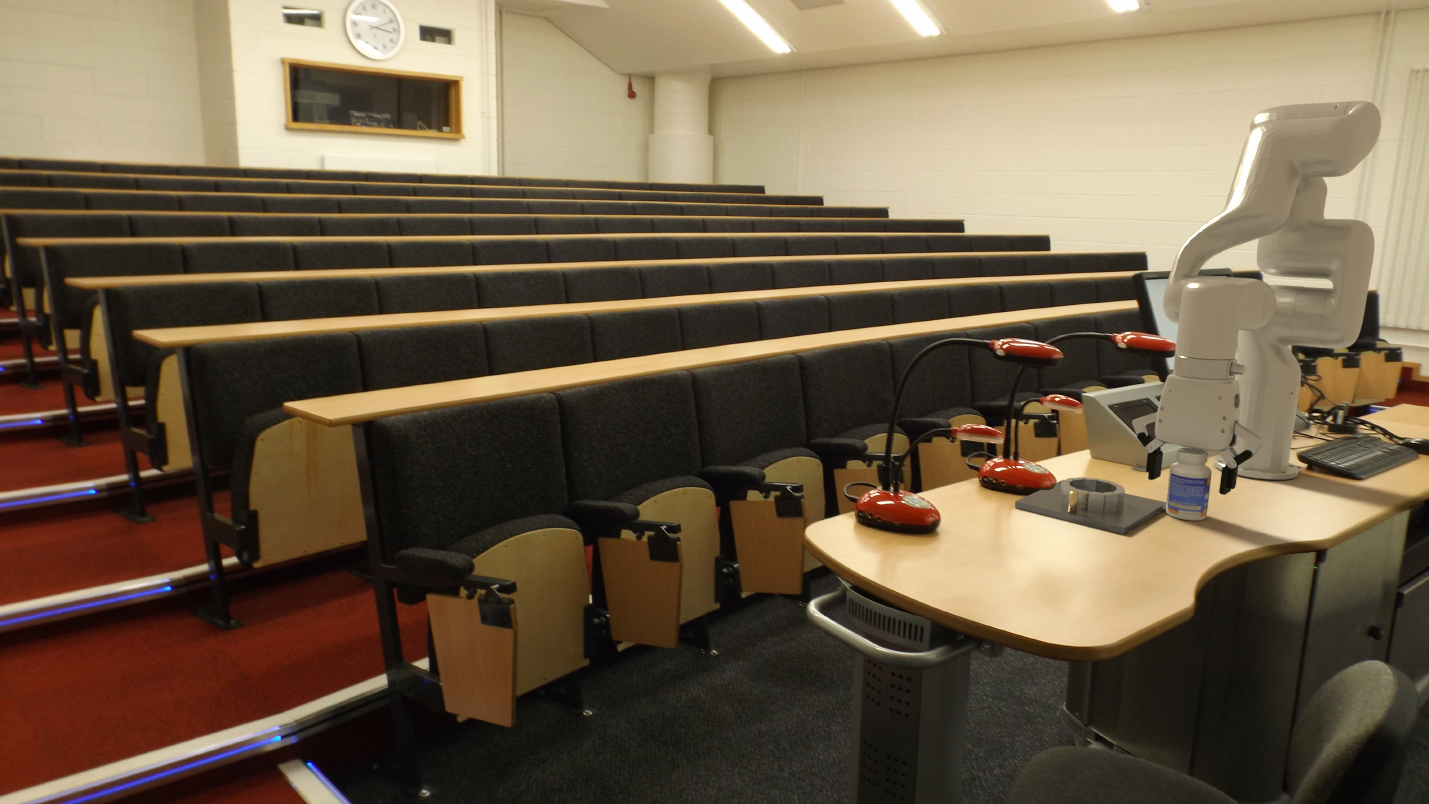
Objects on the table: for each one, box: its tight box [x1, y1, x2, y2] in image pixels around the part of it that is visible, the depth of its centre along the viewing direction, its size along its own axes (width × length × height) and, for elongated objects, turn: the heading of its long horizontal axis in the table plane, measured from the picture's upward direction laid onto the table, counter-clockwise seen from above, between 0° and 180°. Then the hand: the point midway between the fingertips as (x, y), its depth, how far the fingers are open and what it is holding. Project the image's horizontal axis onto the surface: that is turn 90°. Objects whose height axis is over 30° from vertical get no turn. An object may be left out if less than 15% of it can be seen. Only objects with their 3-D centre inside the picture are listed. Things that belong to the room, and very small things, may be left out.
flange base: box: [1014, 476, 1167, 536], centre depth 136 cm, size 16×16×4 cm
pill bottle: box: [1165, 447, 1213, 522], centre depth 133 cm, size 5×5×10 cm
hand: (1188, 485), depth 133 cm, fingers open, 9 cm apart
